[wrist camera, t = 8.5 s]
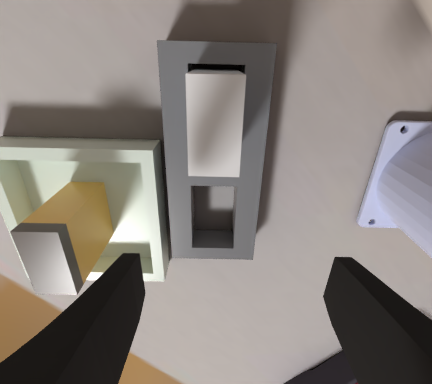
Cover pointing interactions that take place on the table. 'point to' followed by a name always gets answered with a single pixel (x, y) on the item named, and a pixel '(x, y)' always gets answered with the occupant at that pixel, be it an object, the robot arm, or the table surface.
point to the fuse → (214, 121)
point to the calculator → (328, 373)
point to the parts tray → (93, 172)
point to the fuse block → (250, 148)
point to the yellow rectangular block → (65, 238)
